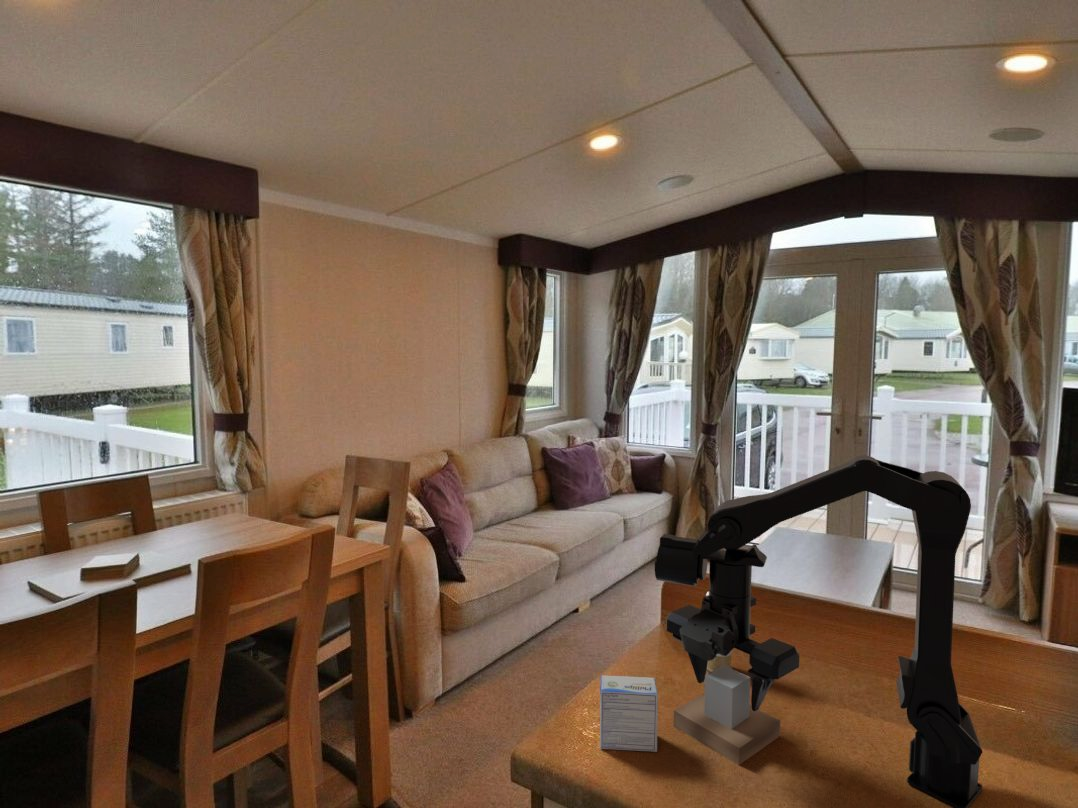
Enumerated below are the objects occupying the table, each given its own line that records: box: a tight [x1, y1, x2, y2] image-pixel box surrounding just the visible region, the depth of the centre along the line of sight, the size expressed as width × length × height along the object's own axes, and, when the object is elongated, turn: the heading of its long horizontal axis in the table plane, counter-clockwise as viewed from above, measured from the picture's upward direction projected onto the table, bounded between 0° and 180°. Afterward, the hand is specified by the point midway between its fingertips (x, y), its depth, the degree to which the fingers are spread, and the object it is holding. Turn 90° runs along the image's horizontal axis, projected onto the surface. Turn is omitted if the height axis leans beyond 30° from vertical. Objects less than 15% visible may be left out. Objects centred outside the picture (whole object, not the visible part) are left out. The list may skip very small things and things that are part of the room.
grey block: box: [704, 665, 751, 729], centre depth 90 cm, size 4×4×6 cm
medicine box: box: [599, 674, 659, 753], centre depth 88 cm, size 8×4×9 cm, turn 84°
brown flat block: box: [673, 693, 781, 766], centre depth 91 cm, size 11×10×3 cm
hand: (727, 695), depth 90 cm, fingers open, 9 cm apart
